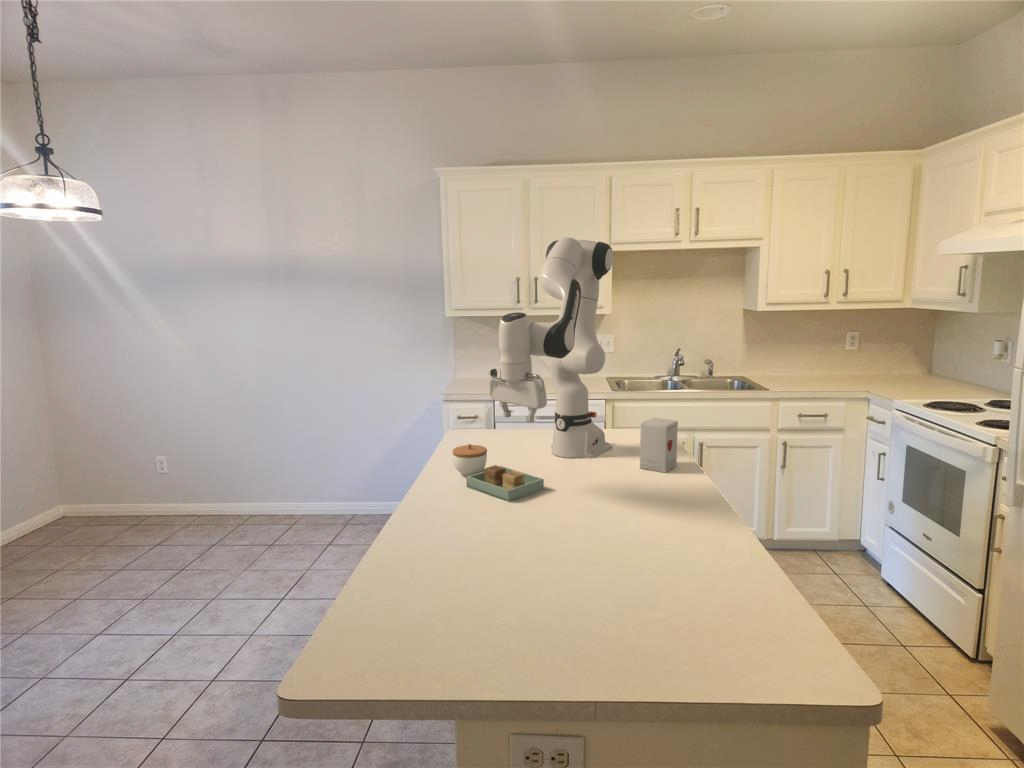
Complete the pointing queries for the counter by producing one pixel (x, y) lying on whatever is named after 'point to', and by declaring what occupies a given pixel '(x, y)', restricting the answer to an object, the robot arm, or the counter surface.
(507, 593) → the counter surface
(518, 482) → the oak block
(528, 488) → the tray
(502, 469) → the walnut block
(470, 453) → the lidded jar
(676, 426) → the supplement box
